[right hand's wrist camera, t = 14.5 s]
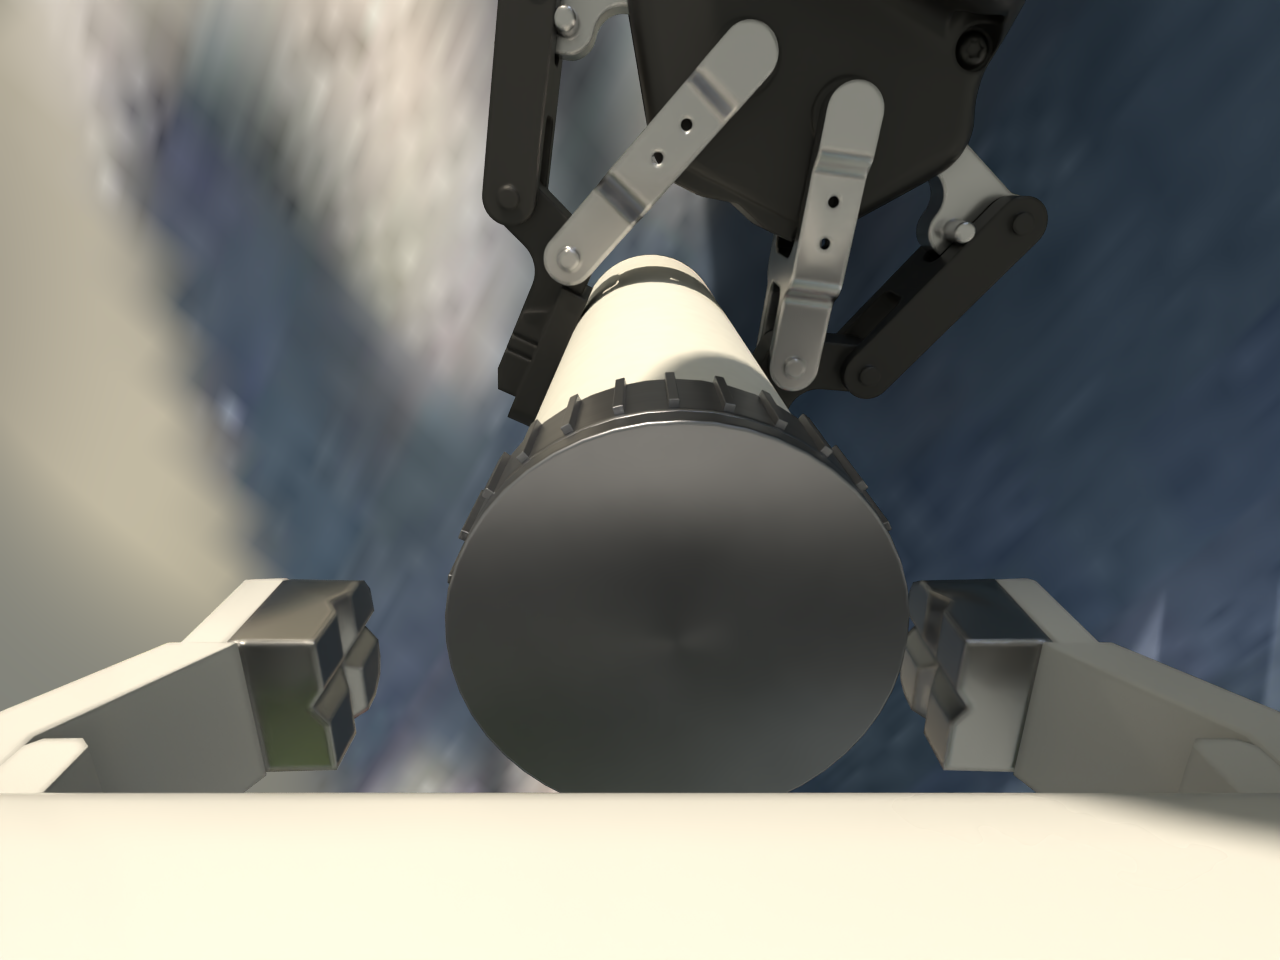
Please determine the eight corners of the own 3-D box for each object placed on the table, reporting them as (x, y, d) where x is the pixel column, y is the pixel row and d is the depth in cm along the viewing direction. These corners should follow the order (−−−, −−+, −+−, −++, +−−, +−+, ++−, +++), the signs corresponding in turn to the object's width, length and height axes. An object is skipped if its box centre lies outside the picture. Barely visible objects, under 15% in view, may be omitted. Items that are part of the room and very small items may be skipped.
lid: (865, 343, 8) (917, 380, 7) (874, 706, 10) (917, 800, 9) (429, 400, 9) (383, 448, 7) (513, 746, 10) (491, 845, 9)
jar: (725, 375, 26) (891, 742, 9) (598, 399, 26) (526, 797, 9) (705, 242, 25) (860, 381, 7) (570, 269, 25) (419, 462, 8)
